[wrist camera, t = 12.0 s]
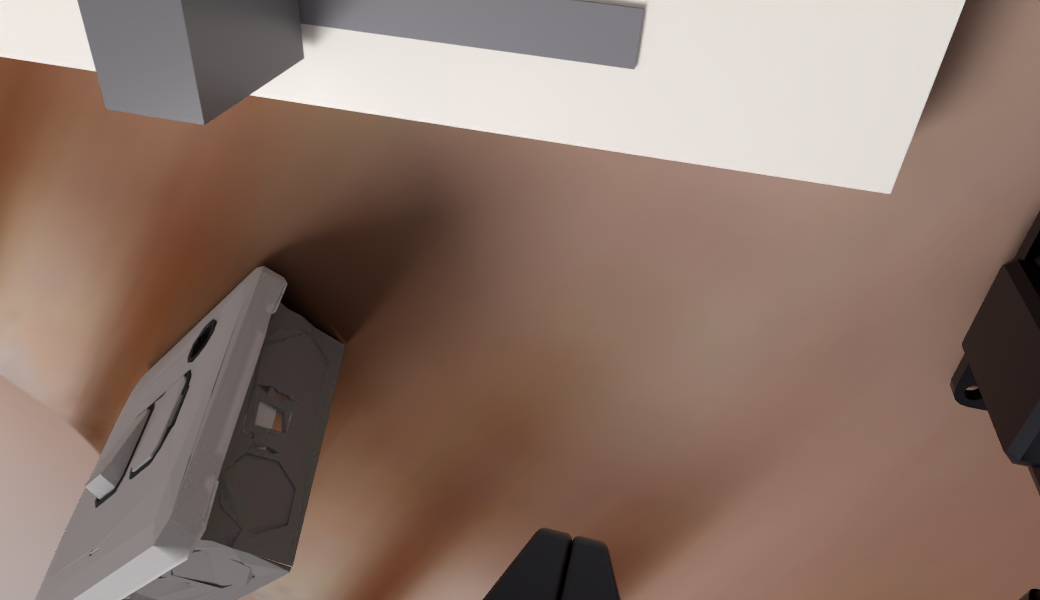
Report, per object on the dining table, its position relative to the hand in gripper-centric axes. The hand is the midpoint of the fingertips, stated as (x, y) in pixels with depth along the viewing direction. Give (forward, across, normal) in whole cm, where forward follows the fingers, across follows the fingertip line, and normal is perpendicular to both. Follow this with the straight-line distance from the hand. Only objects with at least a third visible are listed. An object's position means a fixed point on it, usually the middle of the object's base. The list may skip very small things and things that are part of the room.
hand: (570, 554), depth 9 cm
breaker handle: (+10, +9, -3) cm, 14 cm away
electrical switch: (+12, +12, +10) cm, 20 cm away
